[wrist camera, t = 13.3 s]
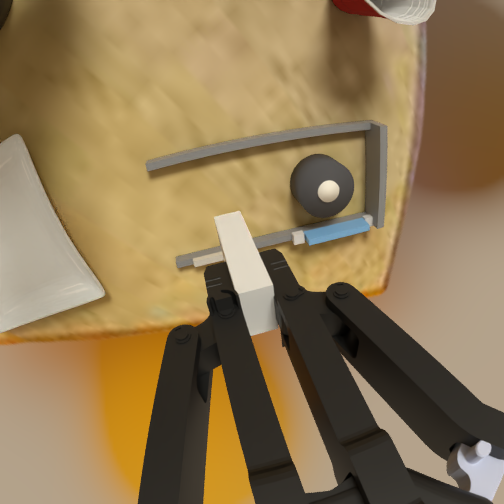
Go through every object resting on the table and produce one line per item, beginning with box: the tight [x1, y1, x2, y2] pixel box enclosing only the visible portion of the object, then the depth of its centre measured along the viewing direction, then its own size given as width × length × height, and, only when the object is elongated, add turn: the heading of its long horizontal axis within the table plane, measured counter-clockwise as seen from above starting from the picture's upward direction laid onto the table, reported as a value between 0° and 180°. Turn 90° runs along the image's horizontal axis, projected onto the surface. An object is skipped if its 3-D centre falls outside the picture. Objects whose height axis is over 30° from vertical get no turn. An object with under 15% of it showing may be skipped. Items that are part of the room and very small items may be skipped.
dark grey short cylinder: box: [290, 154, 354, 218], centre depth 43 cm, size 8×8×4 cm
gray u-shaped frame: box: [146, 120, 387, 268], centre depth 42 cm, size 32×16×4 cm, turn 98°
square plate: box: [0, 134, 105, 333], centre depth 37 cm, size 27×27×4 cm
